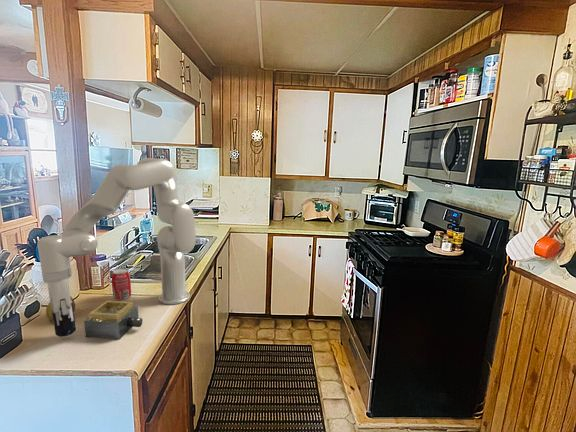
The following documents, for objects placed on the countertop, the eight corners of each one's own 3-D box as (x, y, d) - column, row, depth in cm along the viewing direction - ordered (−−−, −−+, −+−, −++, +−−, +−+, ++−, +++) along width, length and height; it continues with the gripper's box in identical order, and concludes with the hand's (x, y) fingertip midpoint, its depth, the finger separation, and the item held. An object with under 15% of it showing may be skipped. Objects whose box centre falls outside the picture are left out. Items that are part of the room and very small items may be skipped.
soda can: (121, 293, 143) (118, 267, 140) (135, 295, 141) (133, 269, 139) (109, 300, 136) (106, 273, 133) (124, 302, 134) (121, 274, 132)
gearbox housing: (107, 319, 120) (105, 299, 119) (149, 321, 119) (147, 301, 118) (85, 337, 109) (83, 315, 107) (131, 340, 108) (129, 317, 106)
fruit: (42, 325, 115) (38, 293, 113) (55, 313, 124) (51, 283, 122) (69, 323, 117) (66, 292, 115) (80, 311, 126) (77, 282, 124)
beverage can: (80, 329, 110) (75, 296, 108) (69, 338, 105) (64, 304, 102) (63, 329, 110) (58, 296, 108) (51, 339, 105) (46, 304, 102)
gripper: (40, 269, 107) (48, 319, 111) (45, 286, 94) (54, 341, 98) (67, 264, 112) (74, 312, 116) (75, 279, 99) (83, 332, 103)
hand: (65, 325), depth 107 cm, fingers closed on beverage can, 5 cm apart
